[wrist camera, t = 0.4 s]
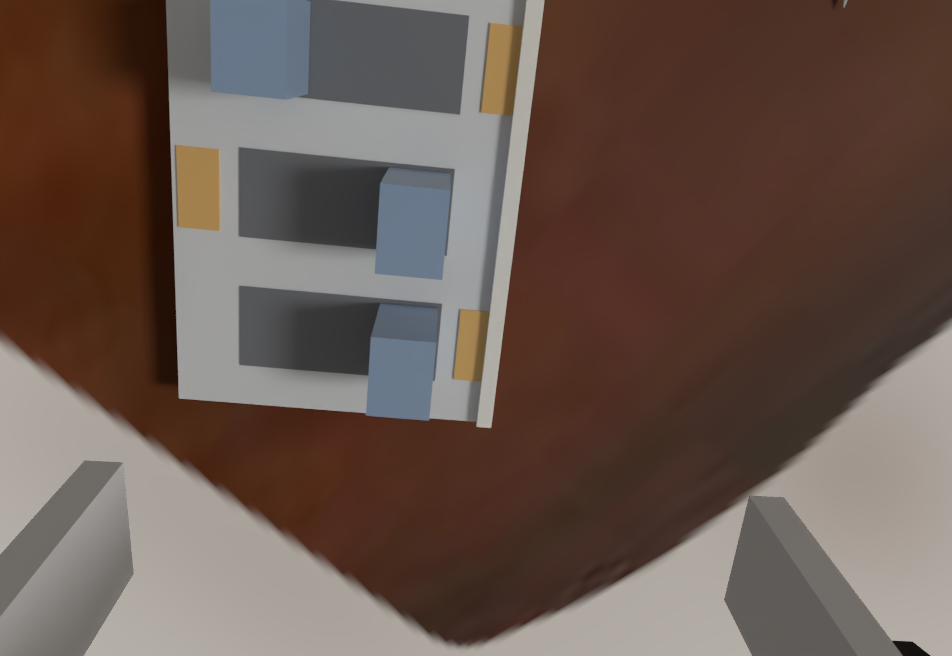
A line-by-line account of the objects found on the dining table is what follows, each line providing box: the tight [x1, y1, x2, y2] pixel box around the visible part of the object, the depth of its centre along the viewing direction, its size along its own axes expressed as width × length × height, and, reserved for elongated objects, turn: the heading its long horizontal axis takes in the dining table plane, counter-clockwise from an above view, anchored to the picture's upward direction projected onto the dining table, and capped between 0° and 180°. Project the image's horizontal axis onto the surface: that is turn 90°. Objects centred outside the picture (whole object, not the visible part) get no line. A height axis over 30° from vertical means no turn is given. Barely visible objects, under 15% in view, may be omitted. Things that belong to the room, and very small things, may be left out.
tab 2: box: [375, 167, 451, 280], centre depth 35 cm, size 4×3×5 cm
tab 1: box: [210, 0, 311, 100], centre depth 32 cm, size 4×3×5 cm
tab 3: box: [366, 303, 438, 421], centre depth 37 cm, size 4×3×5 cm
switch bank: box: [166, 0, 544, 428], centre depth 38 cm, size 23×17×3 cm
